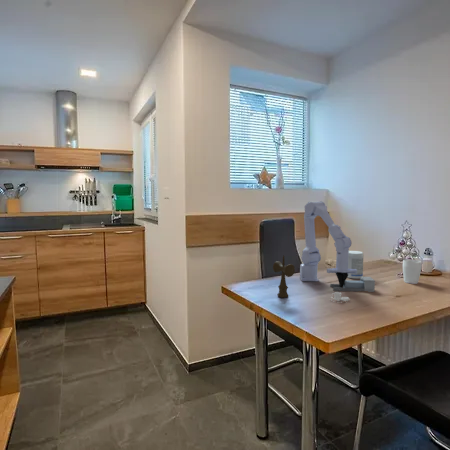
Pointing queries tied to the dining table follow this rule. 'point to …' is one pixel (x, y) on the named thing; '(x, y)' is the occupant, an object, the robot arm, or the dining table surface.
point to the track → (368, 286)
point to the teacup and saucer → (339, 297)
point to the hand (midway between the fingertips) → (341, 286)
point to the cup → (411, 270)
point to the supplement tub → (355, 264)
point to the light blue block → (353, 284)
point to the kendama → (283, 276)
